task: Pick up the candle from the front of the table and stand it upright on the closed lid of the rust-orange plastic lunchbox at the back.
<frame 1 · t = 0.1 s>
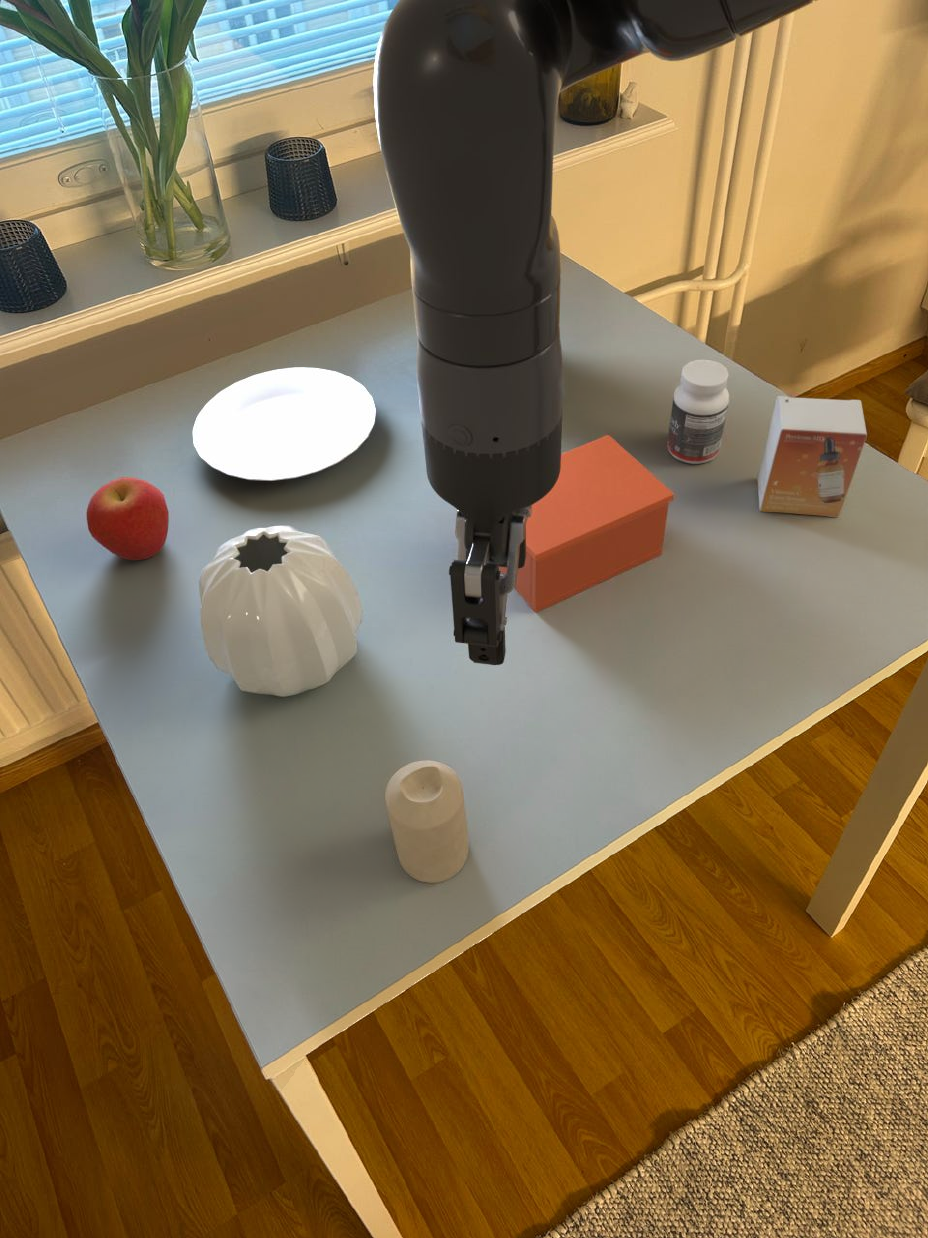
hand: (499, 609, 61), 20 cm above the table, tool pointing down, fingers open, 8 cm apart
apple: (142, 548, 97), on the table
wine bottle: (484, 375, 114), on the table
candle: (433, 852, 72), on the table
plate: (288, 437, 108), on the table
lunchbox: (569, 550, 93), on the table
lunchbox lid: (574, 494, 88), point 7 cm above the table, hinge at 0.0°
small box: (796, 499, 96), on the table
vase: (293, 657, 86), on the table
pill bottle: (692, 450, 102), on the table
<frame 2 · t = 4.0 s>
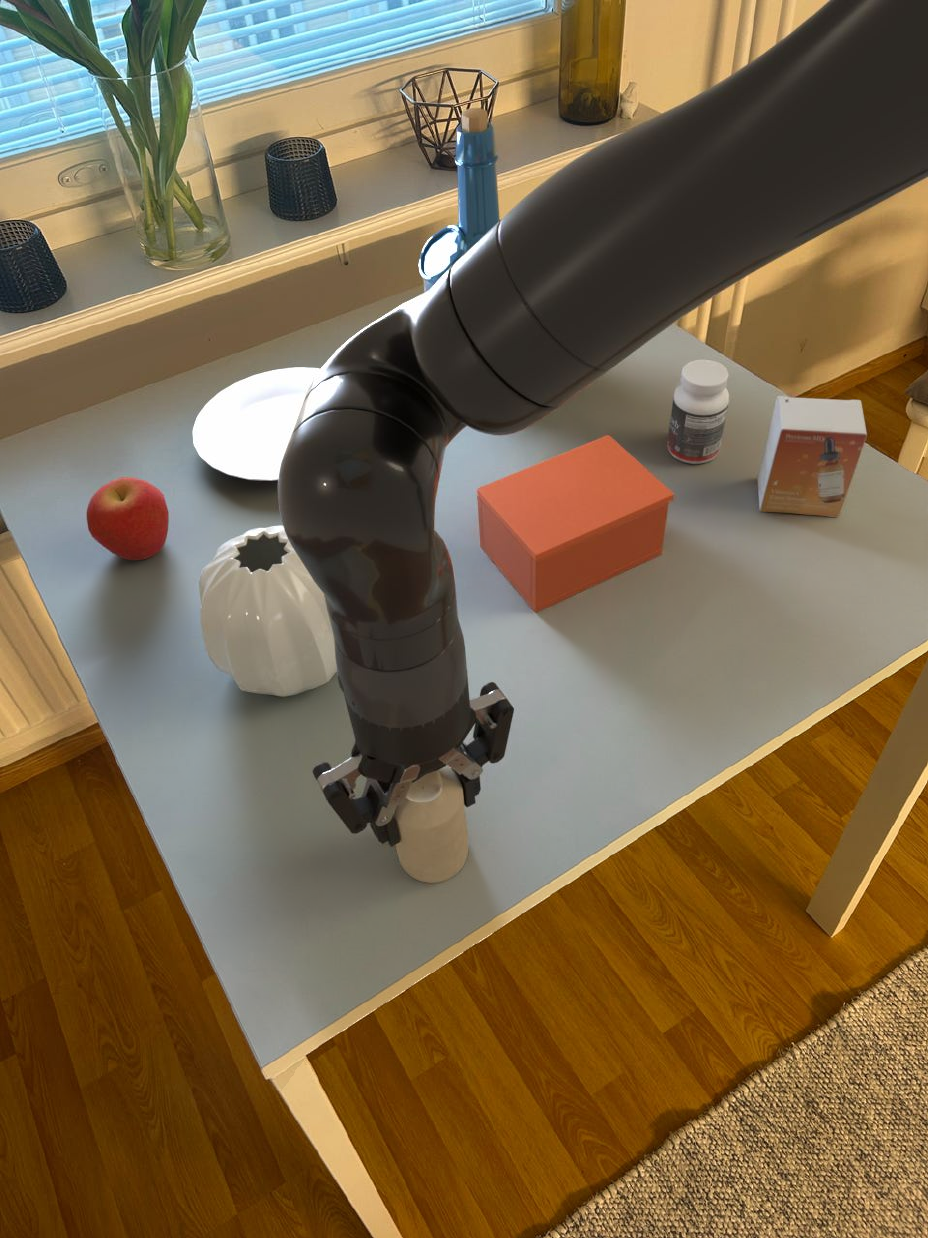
hand: (427, 814, 68), 6 cm above the table, tool pointing down, fingers closed on candle, 5 cm apart
candle: (433, 852, 72), on the table, touching gripper
everything else where it was.
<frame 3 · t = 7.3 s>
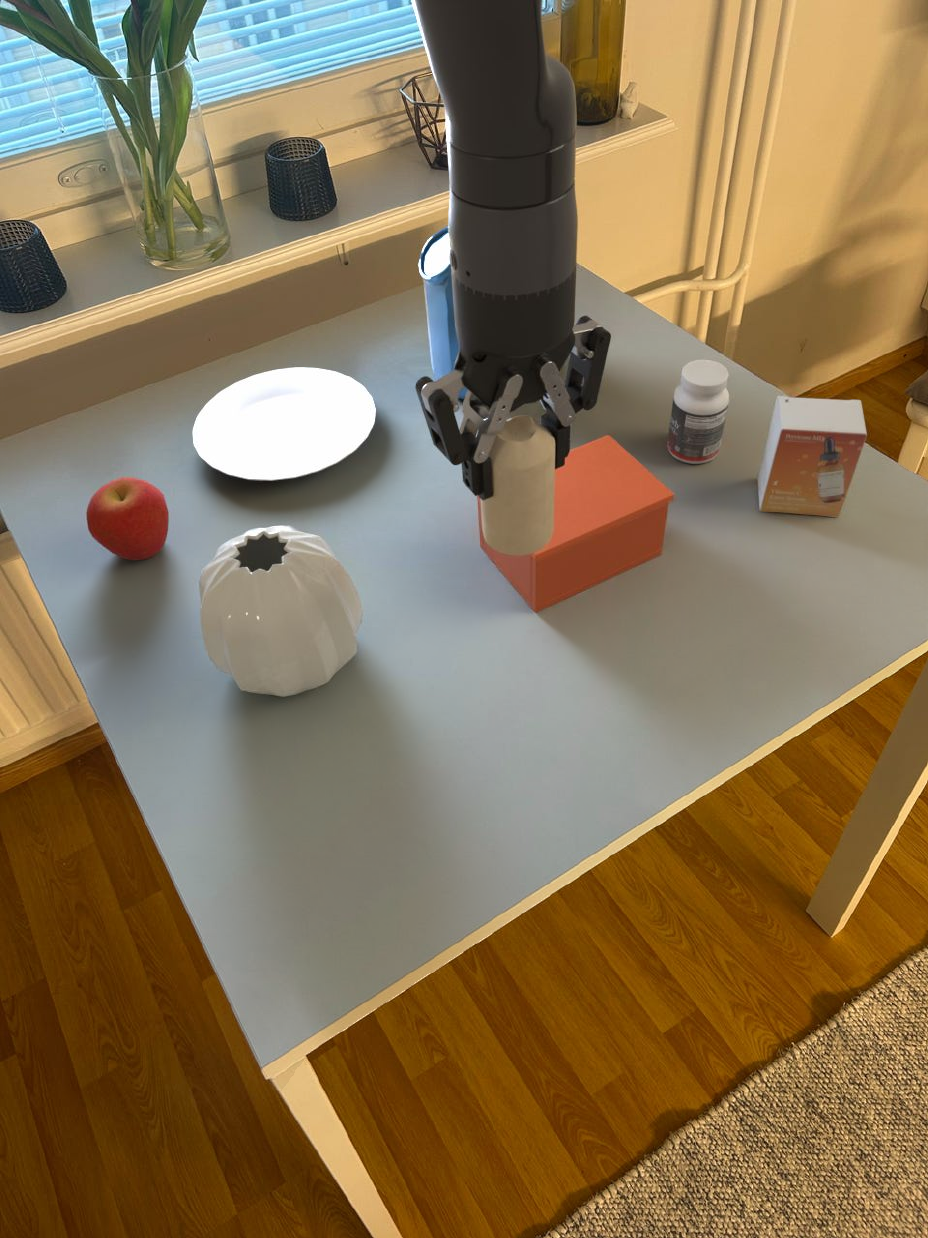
hand: (517, 476, 68), 21 cm above the table, tool pointing down, fingers closed on candle, 5 cm apart
candle: (518, 533, 72), point 16 cm above the table, touching gripper
everything else where it was.
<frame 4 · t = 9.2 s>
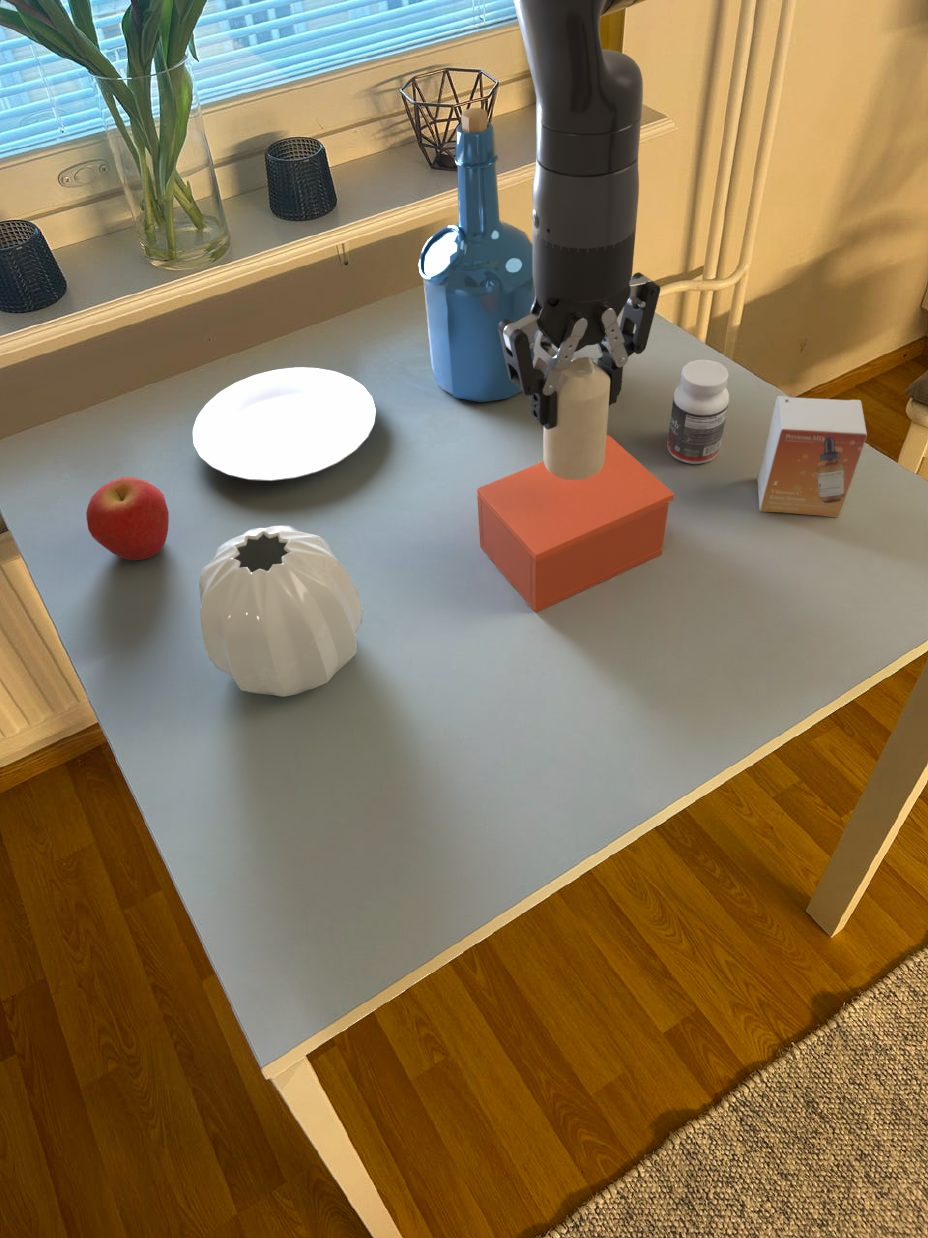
hand: (576, 410, 80), 17 cm above the table, tool pointing down, fingers closed on candle, 5 cm apart
candle: (573, 462, 85), point 11 cm above the table, touching gripper
everything else where it was.
when the fingers open (13 cm above the table, at t = 10.7 s): candle stays where it is, resting on lunchbox lid.
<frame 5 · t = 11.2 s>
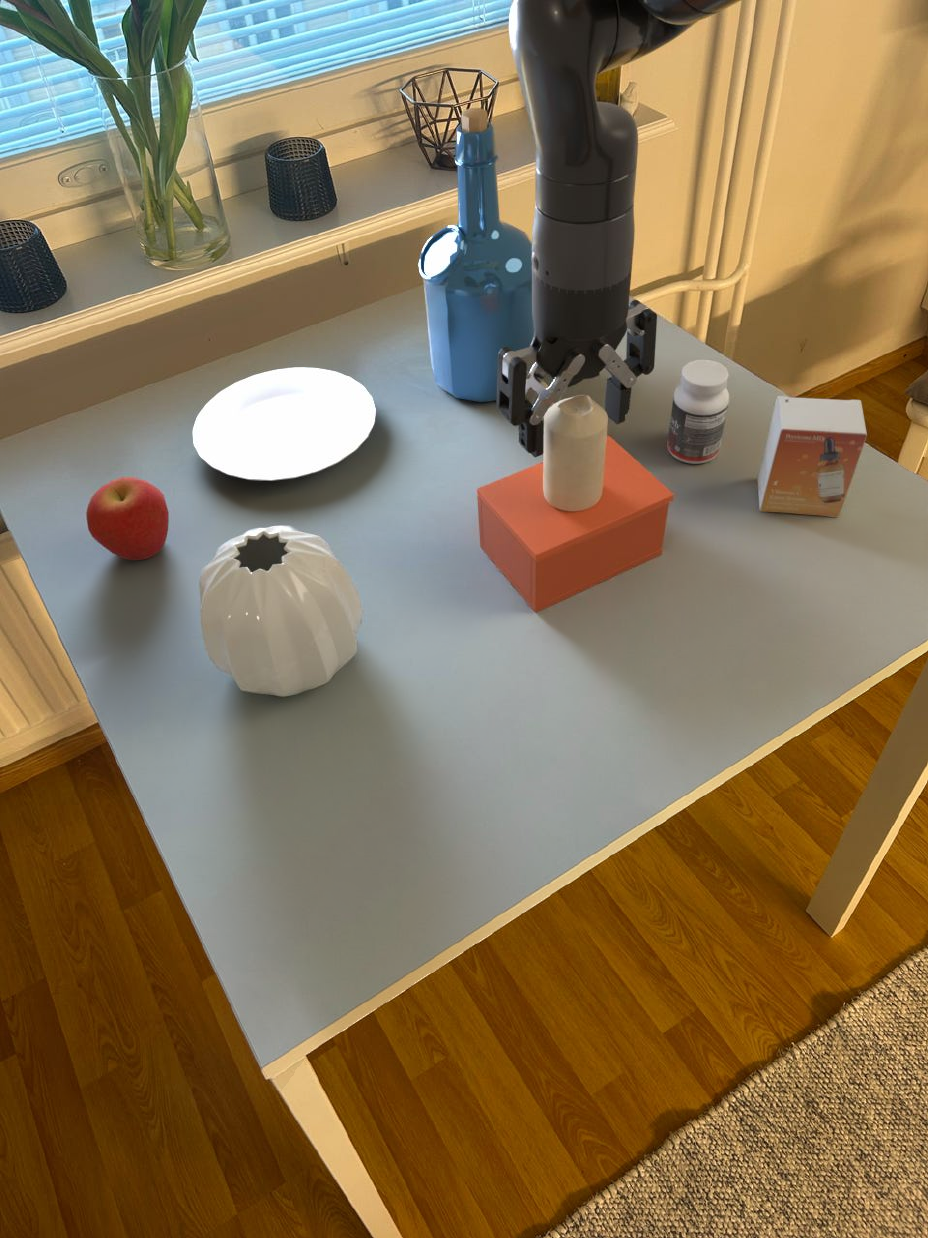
hand: (574, 434, 82), 14 cm above the table, tool pointing down, fingers open, 8 cm apart
candle: (572, 494, 87), point 7 cm above the table, touching lunchbox lid
lunchbox lid: (574, 494, 88), point 7 cm above the table, hinge at -0.2°, touching candle, lunchbox
everything else where it was.
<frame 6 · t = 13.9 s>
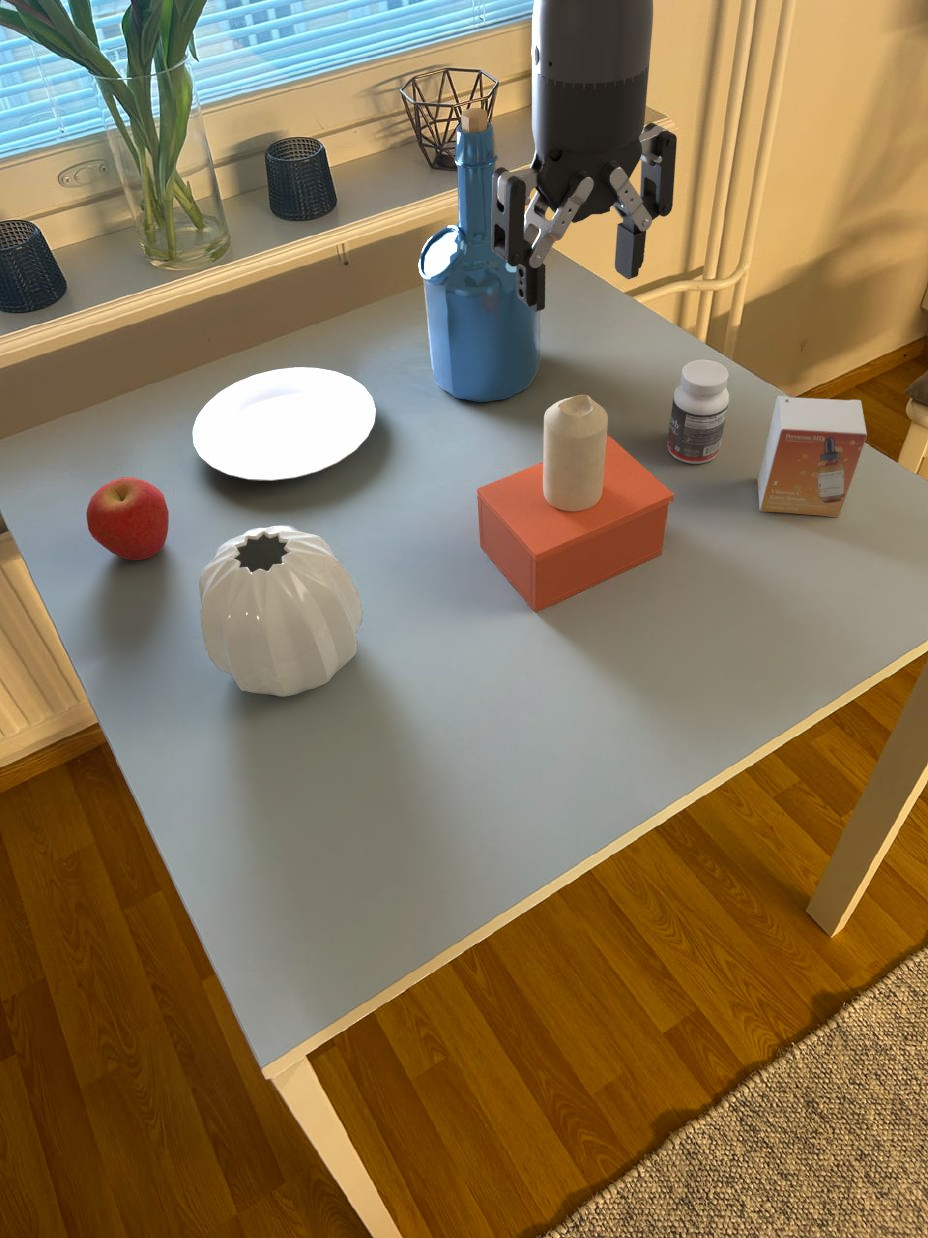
hand: (580, 289, 72), 28 cm above the table, tool pointing down, fingers open, 8 cm apart
nothing on the table moved.
at the end: candle inside the target area on the lunchbox (0.1 cm from its centre), point 7.4 cm above the lunchbox's base; candle tilted 0°; lunchbox lid at +0° (first picture: +0°) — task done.
